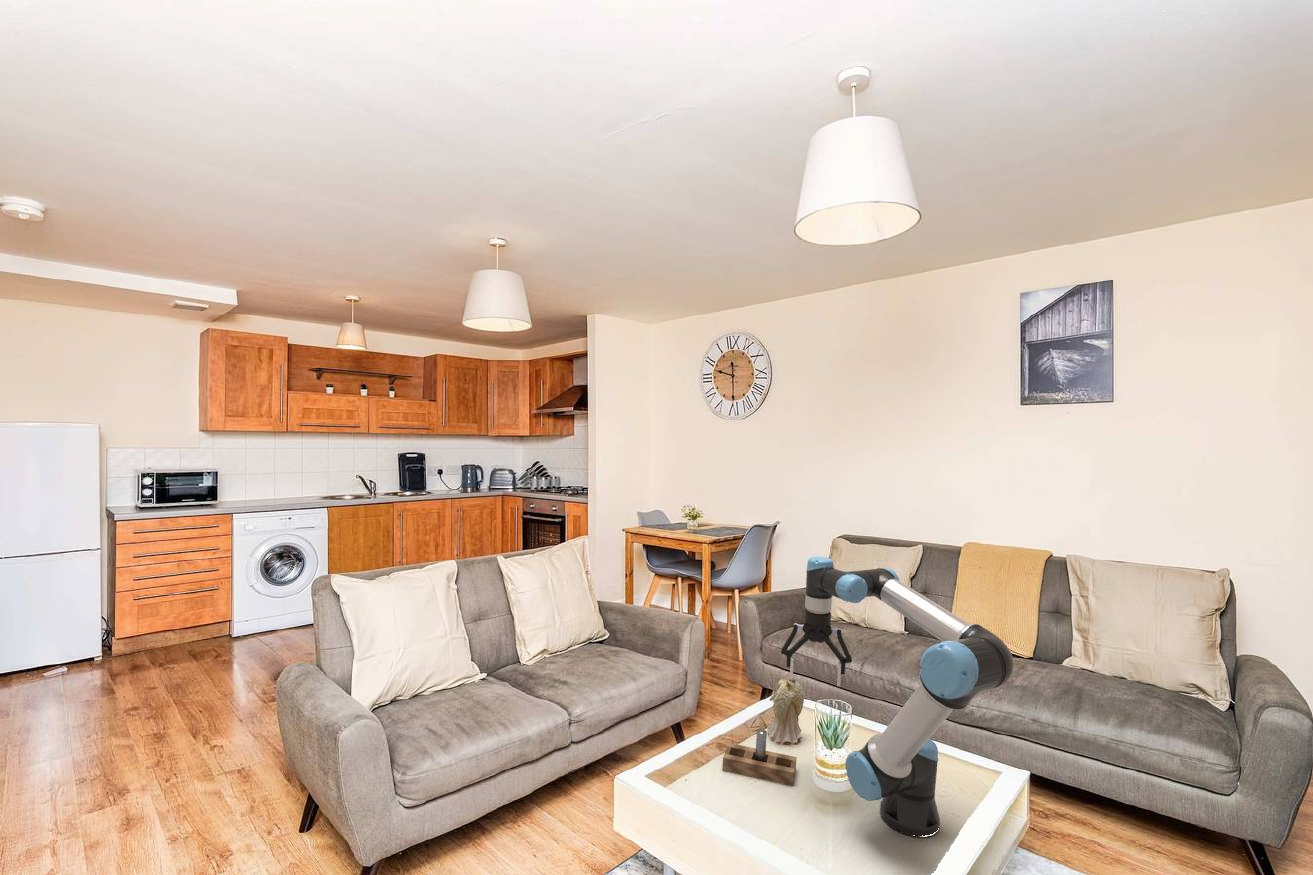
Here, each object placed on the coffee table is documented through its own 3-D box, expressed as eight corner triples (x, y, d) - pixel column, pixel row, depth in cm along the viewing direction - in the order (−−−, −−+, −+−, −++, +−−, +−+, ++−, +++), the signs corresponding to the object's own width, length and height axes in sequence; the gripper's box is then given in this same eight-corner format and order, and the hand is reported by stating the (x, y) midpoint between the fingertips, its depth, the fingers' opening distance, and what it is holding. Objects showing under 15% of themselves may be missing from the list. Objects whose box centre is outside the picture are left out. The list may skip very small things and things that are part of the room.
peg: (765, 768, 196) (767, 730, 196) (763, 773, 194) (766, 735, 193) (755, 766, 197) (757, 728, 197) (753, 771, 194) (756, 733, 194)
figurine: (769, 725, 224) (773, 668, 222) (803, 732, 220) (807, 675, 219) (763, 741, 212) (767, 682, 211) (799, 749, 208) (804, 689, 207)
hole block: (795, 769, 197) (796, 757, 196) (792, 785, 188) (793, 772, 188) (727, 755, 203) (728, 742, 203) (722, 770, 194) (723, 757, 194)
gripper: (861, 611, 190) (858, 682, 191) (776, 602, 197) (773, 670, 197) (863, 618, 183) (859, 692, 184) (774, 608, 190) (771, 679, 190)
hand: (814, 681), depth 191 cm, fingers open, 13 cm apart
